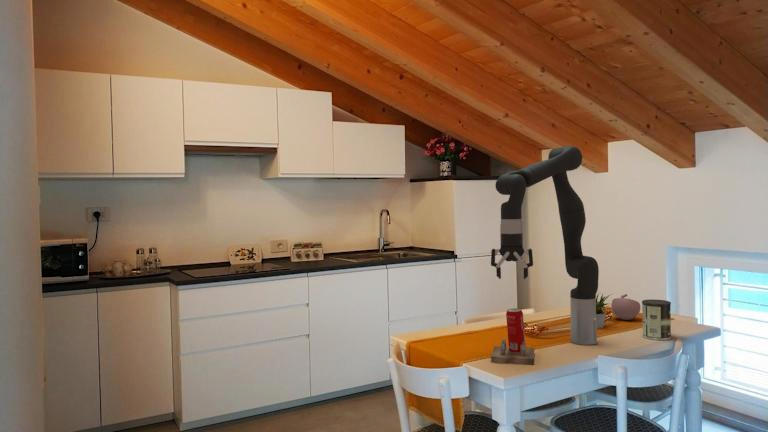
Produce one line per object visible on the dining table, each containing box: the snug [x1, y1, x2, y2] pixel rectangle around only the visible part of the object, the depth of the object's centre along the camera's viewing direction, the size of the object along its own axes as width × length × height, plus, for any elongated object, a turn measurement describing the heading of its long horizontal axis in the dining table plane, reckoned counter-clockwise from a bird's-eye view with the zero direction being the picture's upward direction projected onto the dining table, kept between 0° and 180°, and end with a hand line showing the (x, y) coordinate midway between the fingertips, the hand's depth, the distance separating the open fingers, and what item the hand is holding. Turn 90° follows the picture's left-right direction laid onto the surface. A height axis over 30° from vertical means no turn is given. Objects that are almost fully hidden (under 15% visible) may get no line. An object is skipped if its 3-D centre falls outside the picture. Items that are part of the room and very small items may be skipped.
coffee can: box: [641, 299, 672, 341], centre depth 223 cm, size 10×10×14 cm
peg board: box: [490, 338, 535, 366], centre depth 198 cm, size 14×14×6 cm
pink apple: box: [610, 293, 641, 321], centre depth 255 cm, size 12×12×11 cm
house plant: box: [596, 292, 613, 329], centre depth 243 cm, size 14×14×16 cm
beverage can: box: [505, 307, 527, 354], centre depth 198 cm, size 6×6×15 cm
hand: (512, 278), depth 198 cm, fingers open, 8 cm apart
